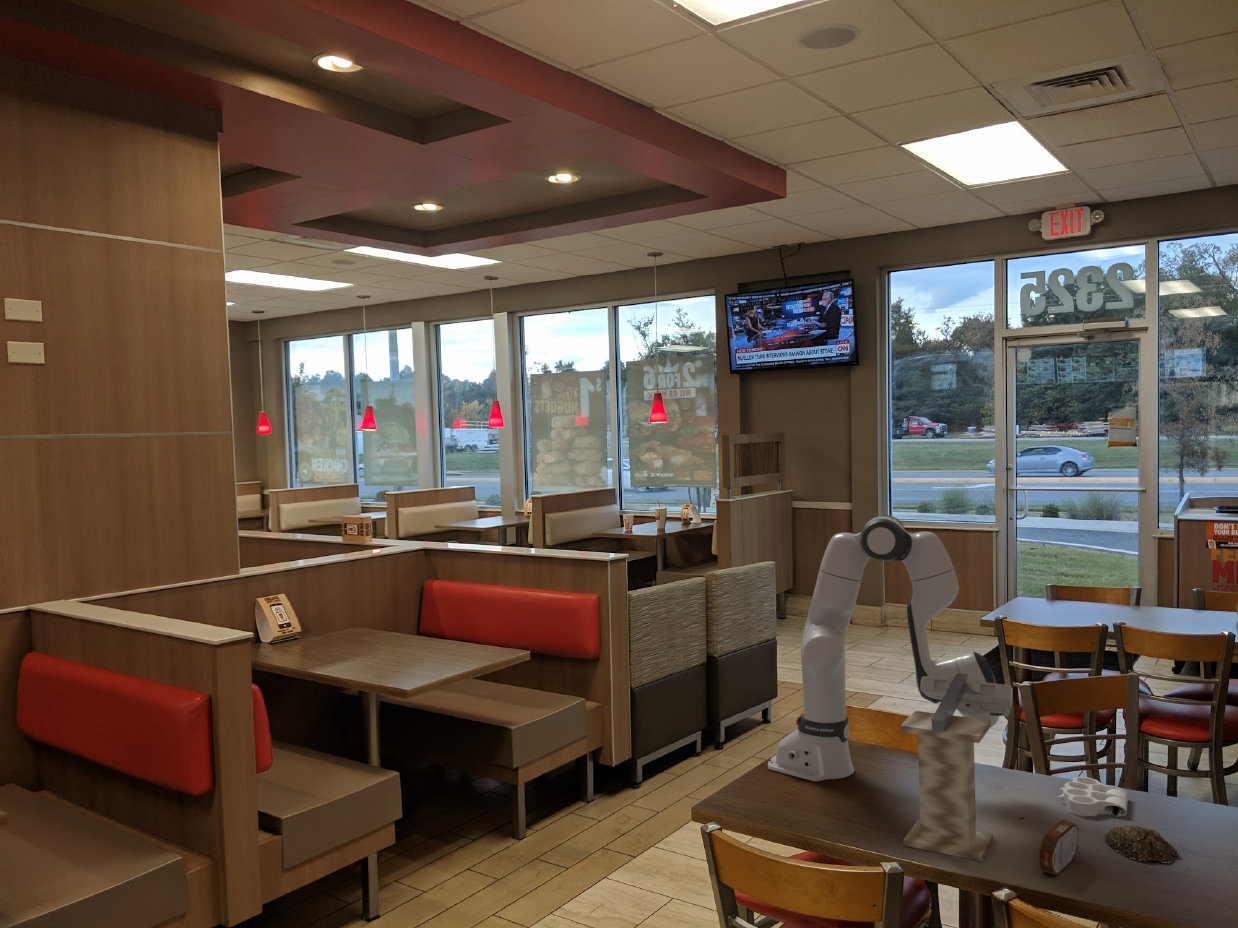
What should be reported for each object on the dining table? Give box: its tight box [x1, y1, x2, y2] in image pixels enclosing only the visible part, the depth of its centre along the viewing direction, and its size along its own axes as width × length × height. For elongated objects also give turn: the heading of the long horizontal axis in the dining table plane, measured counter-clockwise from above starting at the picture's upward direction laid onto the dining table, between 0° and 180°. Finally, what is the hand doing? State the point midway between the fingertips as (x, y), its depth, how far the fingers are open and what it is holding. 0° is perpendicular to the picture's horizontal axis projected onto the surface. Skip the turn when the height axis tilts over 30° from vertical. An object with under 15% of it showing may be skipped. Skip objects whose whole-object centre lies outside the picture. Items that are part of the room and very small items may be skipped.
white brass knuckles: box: [1056, 776, 1129, 817], centre depth 216 cm, size 3×18×15 cm
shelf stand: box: [899, 710, 994, 862], centre depth 197 cm, size 16×12×26 cm
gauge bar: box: [931, 673, 968, 732], centre depth 201 cm, size 24×2×2 cm, turn 147°
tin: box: [1038, 818, 1079, 876], centre depth 185 cm, size 15×3×8 cm, turn 134°
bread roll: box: [1104, 824, 1179, 863], centre depth 191 cm, size 13×12×5 cm
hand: (959, 681), depth 209 cm, fingers closed on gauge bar, 2 cm apart
